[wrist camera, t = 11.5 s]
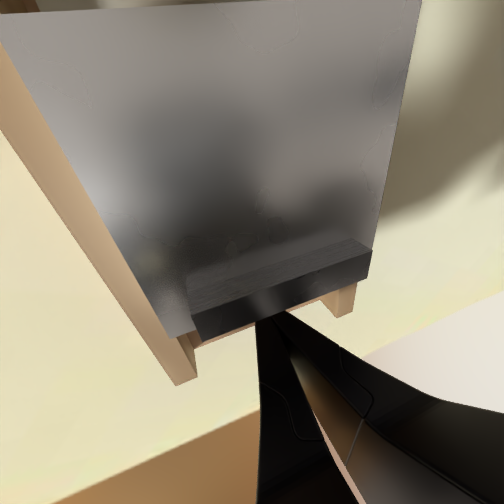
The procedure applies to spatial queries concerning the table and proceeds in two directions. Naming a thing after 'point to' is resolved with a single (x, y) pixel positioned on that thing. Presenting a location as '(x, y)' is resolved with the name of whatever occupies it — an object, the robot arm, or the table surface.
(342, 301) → the frame
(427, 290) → the table surface
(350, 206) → the gray slider block
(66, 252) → the table surface
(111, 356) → the table surface
